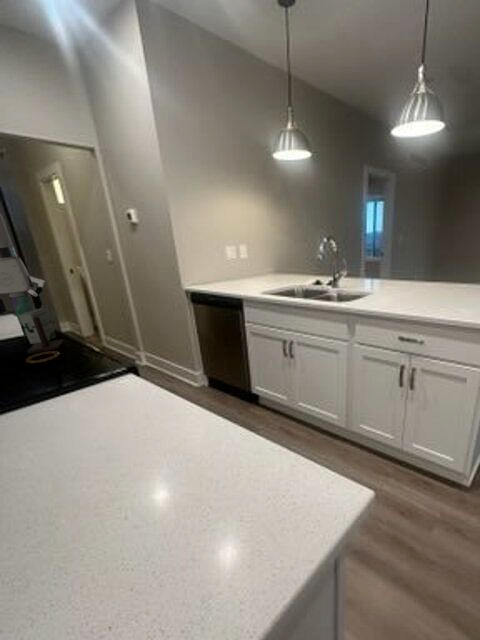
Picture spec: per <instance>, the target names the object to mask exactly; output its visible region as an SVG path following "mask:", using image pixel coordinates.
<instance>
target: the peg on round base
mask: <svg viewBox="0 0 480 640" xmlns="http://www.w3.org/2000/svg"><path fill="white" fill-rule="evenodd" d="M33 321H34V324H35V327H36V329H37V332H38V335H39V338H40V340H41V342H40V343H34V344H32V346H30V347H29V349H27V351H26V353H27V354H36V353H41V352H47V351H56V350H59V348H60V347H61V346H62V345H63V343H64V342H65V341H64V338H63V339H55V340H49V341H48V340H47V337H46V334H45V331H44V329H43V326H42V323H41V320H40V317H36V318H33Z"/></svg>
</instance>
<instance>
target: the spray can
mask: <svg viewBox="0 0 480 640" xmlns="http://www.w3.org/2000/svg"><path fill="white" fill-rule="evenodd" d="M8 297H9V300H10V302H11V305H12V307H13V310H14V313H15V315H16V318H17V320H18V323H19V326H20V329H21V332H22V333H23V336H24V337H25V336H27V334H26V332H25V329H24V326H23V324H22V321H21V319H20V316H19V315H20V314H23V313H26V312H29V311H32V310H33V307H32V306H31V302H30V300H29V297H28V294H27V292H26V291H25V292H18V293H8Z"/></svg>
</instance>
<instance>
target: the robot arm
mask: <svg viewBox="0 0 480 640" xmlns="http://www.w3.org/2000/svg"><path fill="white" fill-rule="evenodd" d="M34 283H35V284H37V288H34ZM45 283H46V281H45V280H43V279H41V278H37V277H34V276H31V275H30V273H29V271H28V269H27V267H26V266H25V264H24V262H23V260H22V258H21V257H18V255H17V253H16V250H15V247H14V245H13V241H12V239H11V236H10V234H9V231H8V227H7V226H6V222H5V219H4V217H3V215H2V212H0V297H1V296H2V295H6V294H7V295H9V293H18V292H25V293H29V294H30V295H32V297H31V299H32V302H33V305H34V307H35V309H42V306H43V301H42V299H41V296H40V295H41V293H42V292H43V290H44V287H45ZM6 312H7V308H6V306H5V302H4V300H3V299H2V298H0V314H4V313H6Z"/></svg>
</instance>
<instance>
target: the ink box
mask: <svg viewBox="0 0 480 640" xmlns="http://www.w3.org/2000/svg"><path fill="white" fill-rule="evenodd" d="M19 316H20V319H21V321H22V324H23V326H24V329H25V332H26V334H27V337H26V338H27V339H28V341H29V344H30V345H34V344H35V343H40V342H41V340H40V338H39V335H38V332H37V329H36V327H35V324H34V321H33V318H36V317H40V320H41V323H42V326H43V329H44V331H45V334H46V337H47V340H48V341H52V340H53V339H55V338H57V337H58V336H57V333H56V331H55V328H54V325H53V322H52V319H51V316H50V314H49V311H48V308H46V307H45V308H42V307H41V308H40V309H36V308H34V309H32V311H29V312H26V313H23V314H20V315H19Z"/></svg>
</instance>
